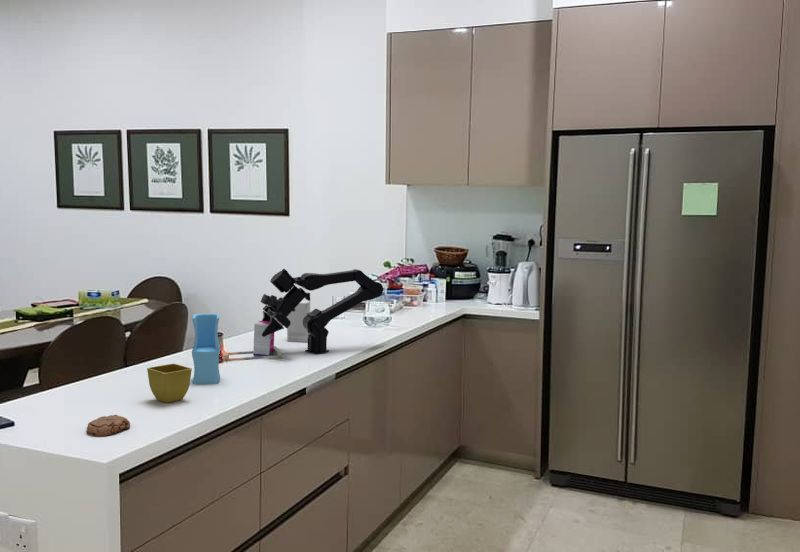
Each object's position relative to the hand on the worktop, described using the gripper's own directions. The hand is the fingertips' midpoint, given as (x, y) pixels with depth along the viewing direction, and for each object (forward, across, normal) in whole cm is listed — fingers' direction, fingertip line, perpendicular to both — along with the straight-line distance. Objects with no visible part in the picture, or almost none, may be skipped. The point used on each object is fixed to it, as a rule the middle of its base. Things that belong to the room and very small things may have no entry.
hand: (259, 333), depth 259 cm
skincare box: (-8, -21, +20) cm, 31 cm away
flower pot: (+31, +47, -20) cm, 60 cm away
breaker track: (+8, 0, +3) cm, 8 cm away
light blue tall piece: (+22, +29, -11) cm, 38 cm away
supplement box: (+4, 0, +6) cm, 8 cm away
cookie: (+43, +68, -32) cm, 86 cm away
